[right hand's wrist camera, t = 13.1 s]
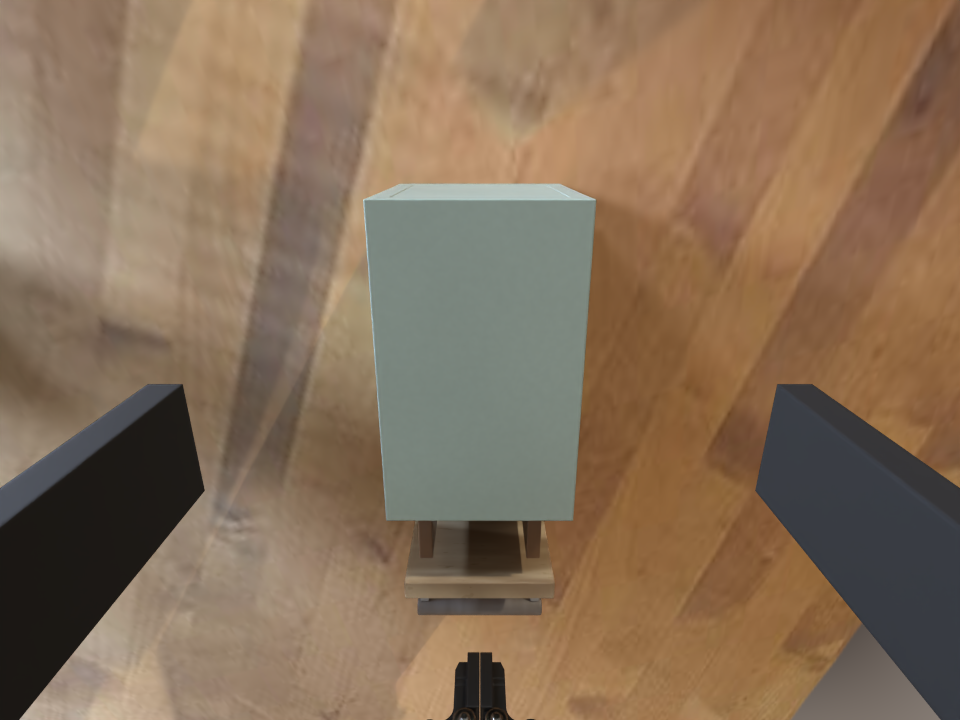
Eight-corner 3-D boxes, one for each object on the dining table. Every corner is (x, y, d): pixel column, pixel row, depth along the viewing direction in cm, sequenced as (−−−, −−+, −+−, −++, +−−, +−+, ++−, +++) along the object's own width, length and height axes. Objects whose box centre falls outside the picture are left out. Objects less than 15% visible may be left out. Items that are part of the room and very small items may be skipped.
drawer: (535, 563, 44) (549, 667, 35) (423, 563, 44) (409, 667, 35) (547, 306, 37) (568, 357, 28) (412, 306, 37) (390, 357, 28)
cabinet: (548, 422, 41) (573, 521, 30) (410, 422, 41) (386, 521, 30) (560, 183, 35) (596, 199, 24) (399, 183, 35) (363, 199, 24)
